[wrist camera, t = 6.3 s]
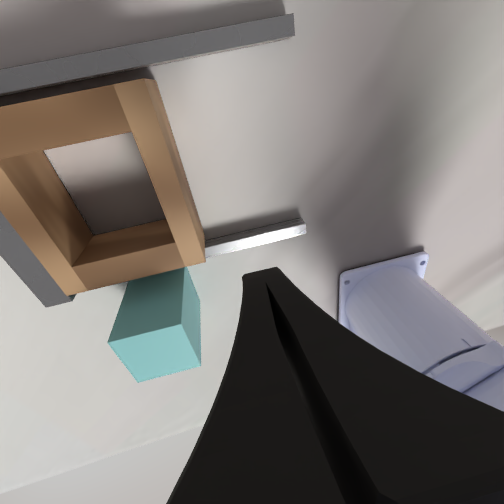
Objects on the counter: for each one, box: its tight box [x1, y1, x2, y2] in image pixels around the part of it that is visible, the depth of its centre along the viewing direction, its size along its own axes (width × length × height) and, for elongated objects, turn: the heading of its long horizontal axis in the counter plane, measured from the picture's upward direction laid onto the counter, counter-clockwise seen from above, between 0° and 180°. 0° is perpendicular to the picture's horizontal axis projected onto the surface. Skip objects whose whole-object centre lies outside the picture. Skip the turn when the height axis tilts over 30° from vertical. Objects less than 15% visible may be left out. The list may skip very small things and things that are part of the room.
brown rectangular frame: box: [0, 78, 206, 296], centre depth 14 cm, size 9×8×4 cm
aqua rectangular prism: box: [108, 267, 201, 383], centre depth 18 cm, size 4×4×6 cm
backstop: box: [0, 13, 306, 307], centre depth 14 cm, size 12×16×4 cm
